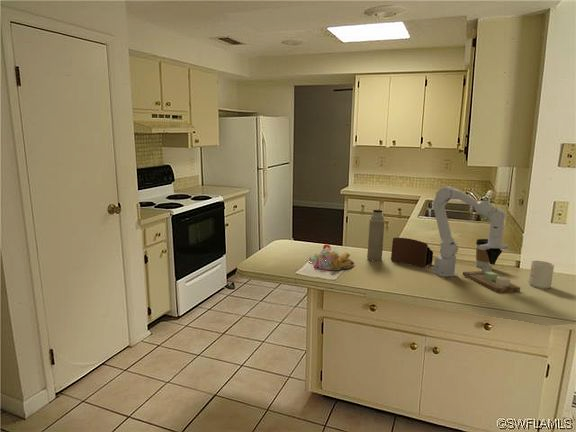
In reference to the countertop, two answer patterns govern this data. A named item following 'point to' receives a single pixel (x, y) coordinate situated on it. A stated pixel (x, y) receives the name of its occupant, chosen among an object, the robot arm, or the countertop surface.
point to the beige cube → (502, 281)
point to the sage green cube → (490, 276)
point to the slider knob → (486, 268)
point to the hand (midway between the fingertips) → (492, 264)
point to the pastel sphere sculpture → (331, 259)
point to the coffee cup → (481, 253)
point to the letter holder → (411, 252)
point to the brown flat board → (490, 282)
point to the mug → (541, 274)
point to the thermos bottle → (376, 236)
